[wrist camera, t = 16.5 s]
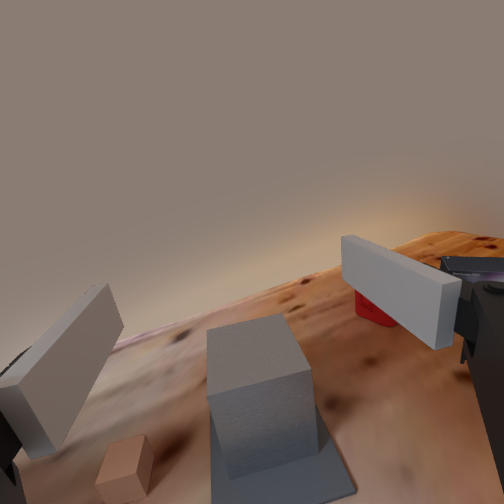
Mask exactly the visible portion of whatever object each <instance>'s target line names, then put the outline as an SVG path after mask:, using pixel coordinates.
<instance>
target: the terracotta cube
mask: <svg viewBox="0 0 504 504" xmlns="http://www.w3.org/2000/svg"><path fill="white" fill-rule="evenodd" d="M153 461H154V455H153V452H152V450H151V447H150V445H149V442H148V440H147V437H146V435H145V434H143V435H139V436H136V437H132V438H128V439H125V440H121V441H117V442H114V443H110V444H109V446H108V449H107V451H106V454H105V457H104V460H103V463H102V465H101V468H100V471H99V474H98V476H97V479H96V482H95V487H96V489H97V490H98V492H99V494H100V496H101V498H102V499H103V501H104V503H105V504H125V503H128V502H131V501H134V500H138V499H141V498H144V497H147V493H148V488H149V482H150V477H151V471H152V466H153Z"/></svg>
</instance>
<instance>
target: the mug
mask: <svg viewBox="0 0 504 504" xmlns="http://www.w3.org/2000/svg"><path fill="white" fill-rule="evenodd" d="M355 311H356V313H357V314H358V315H359V316H361V317H364V318H366V319H369V320H371V321H373V322H376V323H378V324H380V325H383V326H386V327H393V326H395V325H396V324H398V322H397V321H396V320H394V319H393V318H392V317H390V316H389V315H388V314H387V313H385V312H384V311H383V310H381V309H380V308H379V307H378V306H376V305H375V304H374V303H372V302H371V301H370V300H369V299H367V298H366V297H365V296H363V295H362V294H361V293H360V292H358V291H357V290H356V289H355Z"/></svg>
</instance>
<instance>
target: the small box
mask: <svg viewBox="0 0 504 504" xmlns="http://www.w3.org/2000/svg"><path fill="white" fill-rule="evenodd" d="M440 270H443V271H445V273H446V272H448V273H450V274H452V275H455V276H457V277H460V278H462V279H465V280H467V281H470V282H472V283H475V282H478V281H499V282H504V258H500V257H458V256H442V257H441V266H440Z"/></svg>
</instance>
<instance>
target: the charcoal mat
mask: <svg viewBox="0 0 504 504" xmlns="http://www.w3.org/2000/svg"><path fill="white" fill-rule="evenodd" d="M315 413H316V425H317V436H318V448H319V454H316V455H313V456H310V457H306V458H303V459H300V460H297V461H293V462H290V463H287V464H283V465H280V466H277V467H273V468H270V469H267V470H264V471H260V472H257V473H254V474H250V475H247V476H244V477H241V478H237V479H234V480H231V481H230V479H229V475H228V472H227V468H226V464H225V461H224V457H223V453H222V450H221V446H220V443H219V439H218V435H217V432H216V428H215V424H214V421H213V417H212V413H211V410H210V419H211V494H212V504H325V503H329V502H332V501H335V500H338V499H341V498H344V497H347V496H350V495H353V494H356V490H355V488H354V486H353V484H352V481H351V479H350V477H349V475H348V473H347V471H346V469H345V467H344V464H343V462H342V460H341V458H340V456H339V454H338V452H337V449H336V447H335V445H334V443H333V441H332V439H331V437H330V434H329V432H328V430H327V428H326V426H325V424H324V422H323V420H322V417H321V415H320V413H319V411H318V409H317V407H316V405H315Z"/></svg>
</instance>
